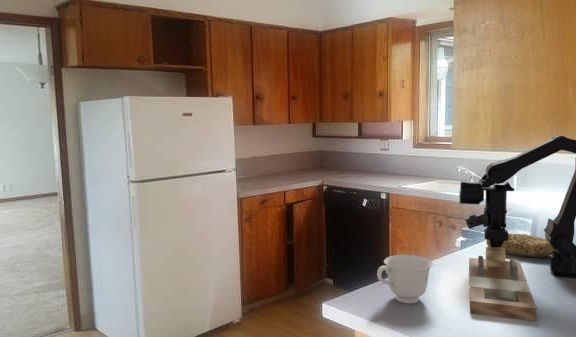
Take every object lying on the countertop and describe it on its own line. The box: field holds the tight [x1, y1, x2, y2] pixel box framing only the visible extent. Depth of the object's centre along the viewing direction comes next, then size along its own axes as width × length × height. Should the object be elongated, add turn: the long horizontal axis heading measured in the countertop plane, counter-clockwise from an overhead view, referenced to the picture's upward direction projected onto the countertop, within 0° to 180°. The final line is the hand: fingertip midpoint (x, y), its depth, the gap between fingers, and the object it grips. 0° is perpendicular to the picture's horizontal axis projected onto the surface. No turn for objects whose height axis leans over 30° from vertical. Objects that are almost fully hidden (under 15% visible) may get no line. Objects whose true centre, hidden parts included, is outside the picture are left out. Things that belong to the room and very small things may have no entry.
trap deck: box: [468, 255, 537, 322], centre depth 125 cm, size 14×35×6 cm, turn 159°
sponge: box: [485, 233, 556, 258], centre depth 156 cm, size 13×8×20 cm
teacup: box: [376, 254, 434, 305], centre depth 120 cm, size 12×15×10 cm
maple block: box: [485, 246, 507, 268], centre depth 137 cm, size 5×5×4 cm
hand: (494, 255), depth 142 cm, fingers closed
